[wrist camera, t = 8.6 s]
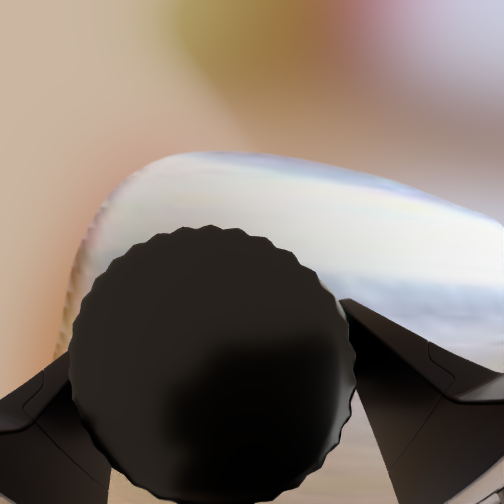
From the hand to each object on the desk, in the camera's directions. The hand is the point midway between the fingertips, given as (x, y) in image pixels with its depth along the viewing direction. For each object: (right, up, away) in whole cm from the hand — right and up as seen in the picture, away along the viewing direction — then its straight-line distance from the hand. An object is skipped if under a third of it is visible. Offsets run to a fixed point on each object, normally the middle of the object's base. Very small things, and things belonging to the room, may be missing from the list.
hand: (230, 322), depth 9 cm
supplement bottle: (+1, -4, +6) cm, 7 cm away
